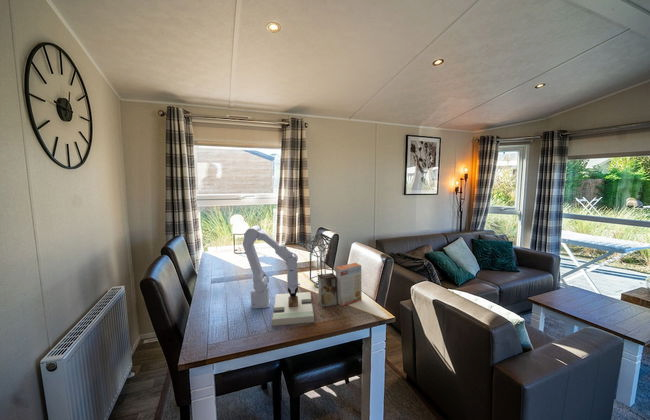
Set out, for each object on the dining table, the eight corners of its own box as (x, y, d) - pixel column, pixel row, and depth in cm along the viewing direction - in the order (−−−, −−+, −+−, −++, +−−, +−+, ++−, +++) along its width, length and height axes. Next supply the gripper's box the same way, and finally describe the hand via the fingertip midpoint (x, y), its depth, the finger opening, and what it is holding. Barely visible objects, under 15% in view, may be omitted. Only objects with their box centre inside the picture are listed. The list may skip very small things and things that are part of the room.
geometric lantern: (320, 293, 147) (317, 237, 143) (305, 285, 159) (302, 233, 155) (339, 286, 157) (337, 232, 153) (324, 279, 169) (322, 229, 165)
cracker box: (355, 296, 144) (355, 262, 141) (361, 300, 138) (362, 265, 136) (335, 302, 137) (335, 266, 134) (341, 307, 132) (341, 270, 129)
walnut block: (288, 307, 128) (288, 301, 128) (288, 302, 133) (288, 296, 133) (298, 306, 129) (297, 300, 128) (297, 301, 134) (297, 295, 133)
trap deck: (272, 325, 116) (271, 319, 115) (276, 297, 143) (275, 292, 143) (314, 322, 118) (314, 315, 118) (310, 295, 146) (310, 290, 145)
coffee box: (333, 299, 140) (333, 272, 138) (337, 304, 134) (337, 276, 132) (318, 301, 138) (317, 274, 136) (321, 307, 132) (320, 278, 130)
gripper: (300, 281, 126) (300, 305, 128) (299, 270, 141) (300, 293, 142) (286, 282, 126) (287, 306, 127) (287, 271, 140) (287, 294, 142)
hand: (293, 299), depth 135 cm, fingers closed
